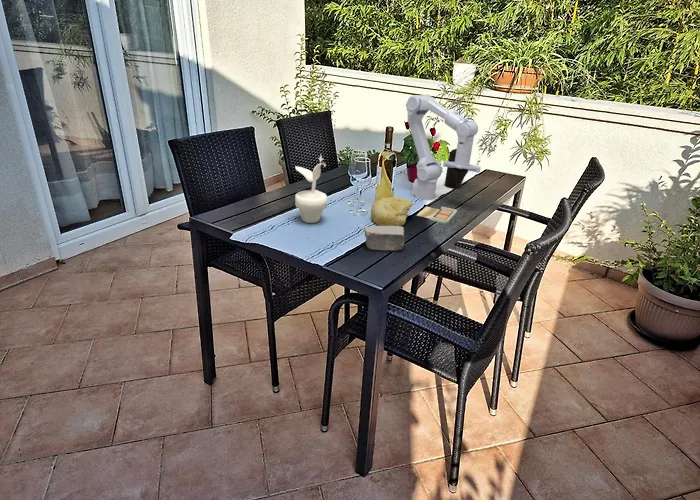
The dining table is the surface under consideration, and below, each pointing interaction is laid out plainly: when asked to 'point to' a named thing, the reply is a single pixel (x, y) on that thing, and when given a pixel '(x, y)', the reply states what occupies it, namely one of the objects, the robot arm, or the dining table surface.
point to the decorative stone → (384, 238)
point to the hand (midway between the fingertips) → (458, 186)
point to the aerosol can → (451, 172)
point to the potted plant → (311, 196)
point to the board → (428, 212)
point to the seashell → (390, 211)
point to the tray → (448, 218)
